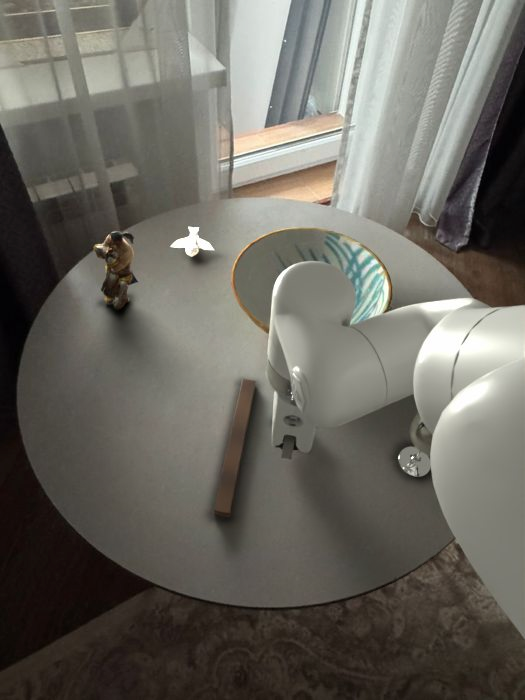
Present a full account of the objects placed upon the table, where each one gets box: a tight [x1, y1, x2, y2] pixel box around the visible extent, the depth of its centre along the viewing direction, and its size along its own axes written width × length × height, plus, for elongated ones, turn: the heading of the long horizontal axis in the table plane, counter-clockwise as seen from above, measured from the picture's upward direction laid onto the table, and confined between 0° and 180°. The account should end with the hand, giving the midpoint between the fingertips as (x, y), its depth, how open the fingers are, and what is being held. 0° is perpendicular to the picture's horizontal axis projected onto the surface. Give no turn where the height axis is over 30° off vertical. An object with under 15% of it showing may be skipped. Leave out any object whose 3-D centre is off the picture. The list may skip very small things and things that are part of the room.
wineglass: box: [397, 412, 433, 478], centre depth 64 cm, size 6×6×12 cm
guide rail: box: [213, 378, 256, 518], centre depth 69 cm, size 20×2×2 cm, turn 171°
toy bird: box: [169, 226, 215, 257], centre depth 91 cm, size 8×5×5 cm, turn 87°
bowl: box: [230, 226, 393, 335], centre depth 82 cm, size 25×25×8 cm
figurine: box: [93, 230, 139, 311], centre depth 78 cm, size 7×6×15 cm
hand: (286, 443), depth 68 cm, fingers closed
